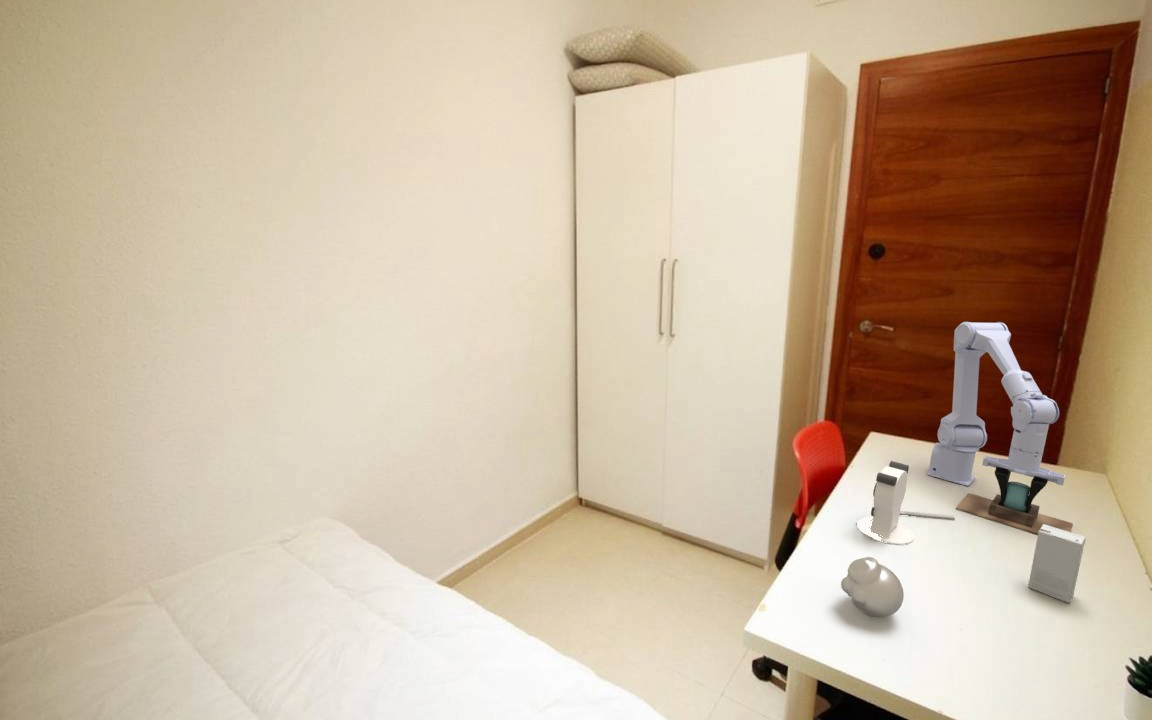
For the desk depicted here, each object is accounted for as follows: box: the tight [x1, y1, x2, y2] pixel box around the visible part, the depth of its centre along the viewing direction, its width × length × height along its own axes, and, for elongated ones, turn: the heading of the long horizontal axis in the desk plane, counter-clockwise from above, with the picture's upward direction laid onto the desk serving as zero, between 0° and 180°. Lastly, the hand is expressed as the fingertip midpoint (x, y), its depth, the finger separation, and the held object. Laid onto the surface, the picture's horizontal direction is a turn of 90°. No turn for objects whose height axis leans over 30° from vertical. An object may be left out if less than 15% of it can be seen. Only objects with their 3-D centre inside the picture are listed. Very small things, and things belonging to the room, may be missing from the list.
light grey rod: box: [899, 510, 956, 521], centre depth 122 cm, size 12×1×1 cm, turn 80°
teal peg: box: [1003, 481, 1030, 513], centre depth 121 cm, size 4×4×7 cm
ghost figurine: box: [840, 556, 905, 618], centre depth 89 cm, size 9×10×10 cm
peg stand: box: [955, 492, 1073, 536], centre depth 122 cm, size 20×12×3 cm, turn 41°
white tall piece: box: [869, 460, 915, 545], centre depth 115 cm, size 12×11×15 cm
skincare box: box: [1027, 524, 1086, 604], centre depth 94 cm, size 6×4×12 cm
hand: (1015, 502), depth 122 cm, fingers closed on teal peg, 4 cm apart
